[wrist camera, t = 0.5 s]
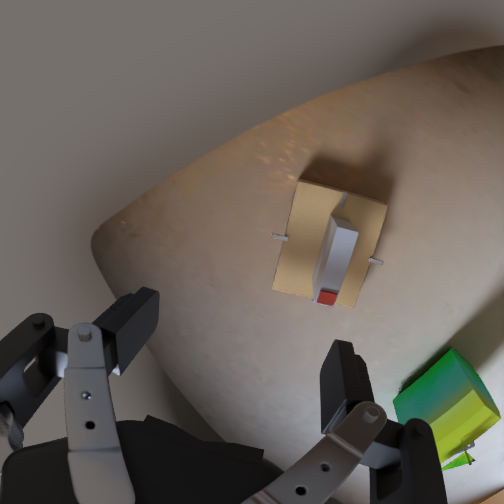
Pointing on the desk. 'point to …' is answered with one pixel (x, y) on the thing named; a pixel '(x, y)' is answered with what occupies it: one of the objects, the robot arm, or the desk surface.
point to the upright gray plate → (333, 259)
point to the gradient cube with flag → (449, 406)
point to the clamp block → (312, 233)
